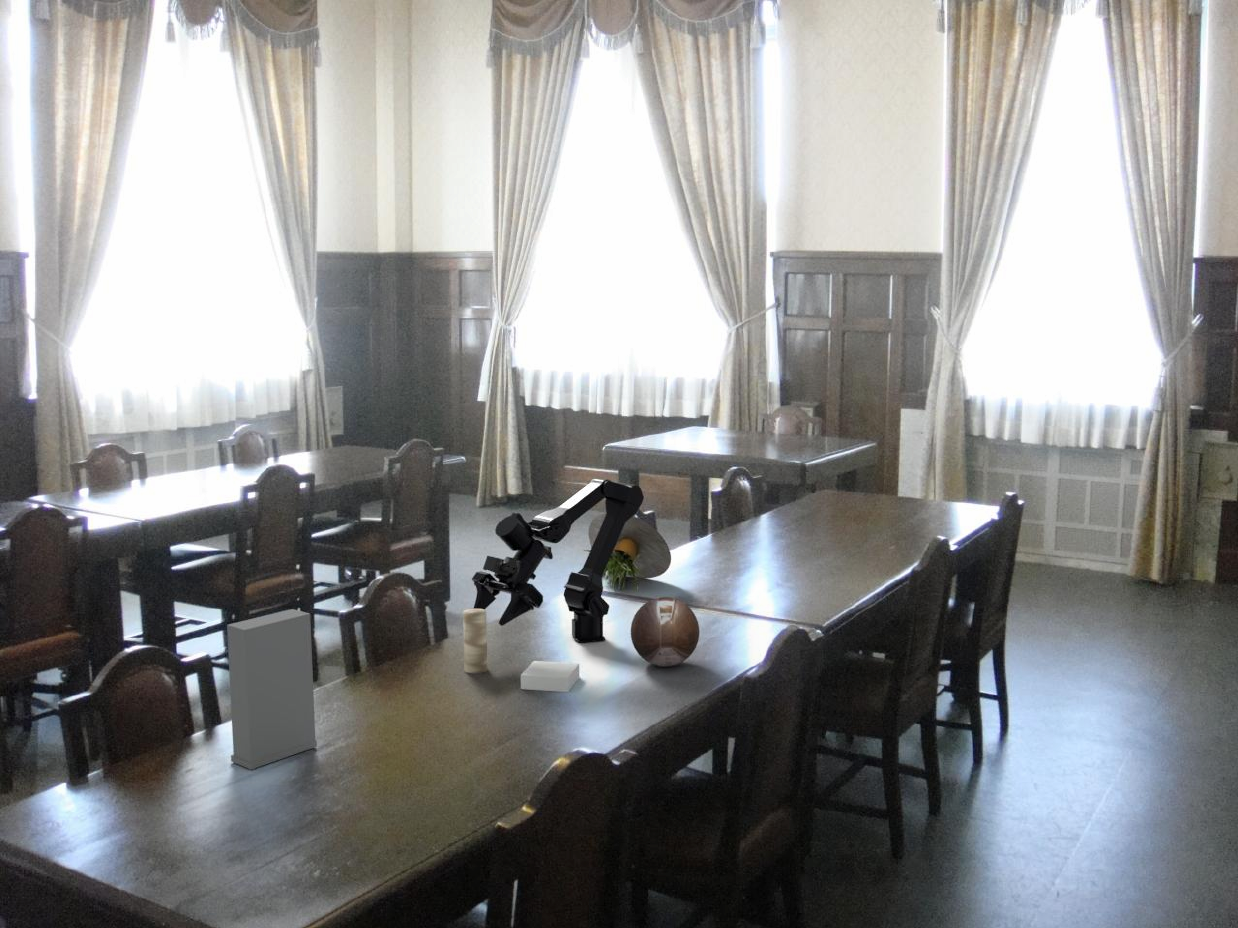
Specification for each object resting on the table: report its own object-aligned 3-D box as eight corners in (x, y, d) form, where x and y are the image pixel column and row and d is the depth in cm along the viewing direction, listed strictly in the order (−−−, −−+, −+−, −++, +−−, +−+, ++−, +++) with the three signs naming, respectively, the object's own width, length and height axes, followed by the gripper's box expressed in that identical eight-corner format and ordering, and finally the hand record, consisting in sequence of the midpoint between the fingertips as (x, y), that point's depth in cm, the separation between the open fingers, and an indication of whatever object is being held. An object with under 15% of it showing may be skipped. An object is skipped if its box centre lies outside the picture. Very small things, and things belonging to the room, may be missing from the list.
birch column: (484, 665, 272) (483, 607, 270) (489, 671, 268) (488, 613, 266) (462, 667, 271) (461, 609, 269) (466, 674, 266) (465, 615, 264)
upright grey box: (296, 740, 228) (290, 607, 225) (316, 747, 224) (311, 613, 221) (230, 762, 218) (223, 624, 214) (250, 770, 214) (243, 630, 210)
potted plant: (578, 603, 352) (554, 551, 334) (605, 555, 361) (583, 502, 343) (656, 625, 341) (635, 572, 323) (681, 575, 350) (663, 521, 332)
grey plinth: (534, 674, 266) (533, 660, 265) (579, 677, 264) (579, 663, 263) (520, 688, 256) (520, 674, 256) (567, 692, 254) (567, 677, 254)
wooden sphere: (641, 678, 263) (641, 609, 261) (622, 657, 277) (622, 592, 275) (708, 672, 267) (709, 604, 265) (686, 652, 281) (686, 587, 279)
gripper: (477, 535, 278) (438, 592, 272) (532, 547, 265) (493, 607, 259) (505, 564, 285) (467, 620, 278) (560, 578, 271) (522, 636, 265)
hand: (486, 620), depth 270 cm, fingers open, 9 cm apart
